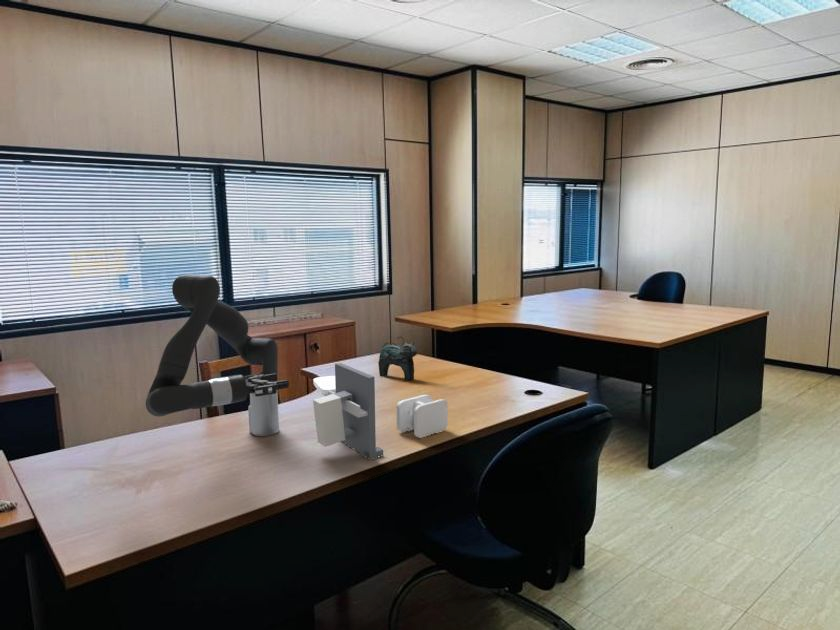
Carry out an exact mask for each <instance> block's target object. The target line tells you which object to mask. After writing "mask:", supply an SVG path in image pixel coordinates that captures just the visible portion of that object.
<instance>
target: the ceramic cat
mask: <svg viewBox="0 0 840 630" xmlns="http://www.w3.org/2000/svg"><path fill="white" fill-rule="evenodd" d="M399 338H401V339H402V341H403V342H402V345H400V344H397V343H394V342H385V343H384V344H383V346H382V349H381V351H380V353H379V356H378V357H379V359H378V372H379V376H380V377H383V378H385V377H388V376H389V375H388V374H389V368H390V366H392V365H394V366H397V367H399V368H401V369H402V372H403V375H404V377H403V380H404V381H410V382H411V381H413V380H414V379H415V364H414V357H416V356H417V354H418V348H417V346H416V343H415V342H414V341H412V342H411V343H407V342H406V341H405V340H404V337H403V336H398V337H397V338H396V339H397V340H399ZM387 344H393V345H387Z"/></svg>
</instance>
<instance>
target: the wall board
mask: <svg viewBox="0 0 840 630" xmlns="http://www.w3.org/2000/svg"><path fill="white" fill-rule="evenodd" d="M334 376H335V385H336V393H338V392H342V391H346V392H348V393H350V394H352V398H353V402H352V401H350V400H348V399H345V400H342V401H341V405H342V414H343V423H344V429H345V428H348V427H349V428H350V429H352V430H354V431H355V432H356V437H353V438H350V439H347V440H344V441H342V442H341V443H343V442H344V443H346V444H347V445H349V446H350V447H349V446H348V447H349V448H351V447H352V448H354V449H355V450H357V451H358V452H360V453H361V454H363V455H364V456H363V455H362V456H363V457H365V456H366V457H367V458H366V457H365V458H366V459H368V458H369V459H373V458H376V457H377V458H379V457H378V456H381V455H383V456H384V449H383V448H381V447H379V446H377V447H376V445H377V443H376V442H377V441H376V435H377V434H376V392H375V391H376V385H375V382H376V379H375V376H373V375H371V374H370V373H367V372H364V371H361V370H358V369H357V368H355V367H352V366H350V365H346V364H344V363H341V362H338V363H334ZM331 394H335V393H334V392H332V391H328V395H331ZM328 395H327V396H328ZM344 443H343V444H344ZM346 444H345V445H346ZM347 445H346V446H347ZM352 448H351V449H352ZM354 449H353V450H354ZM355 450H354V451H355ZM357 451H356V452H357ZM358 452H357V453H358ZM360 453H359V454H360ZM361 454H360V455H361ZM381 457H382V456H381ZM377 458H376V459H377ZM369 459H368V460H369ZM373 460H374V459H373Z"/></svg>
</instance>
